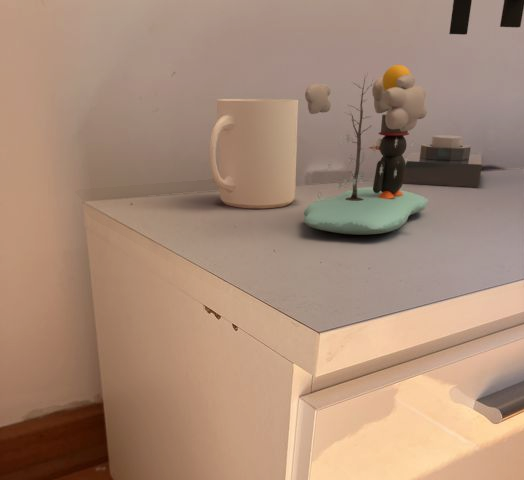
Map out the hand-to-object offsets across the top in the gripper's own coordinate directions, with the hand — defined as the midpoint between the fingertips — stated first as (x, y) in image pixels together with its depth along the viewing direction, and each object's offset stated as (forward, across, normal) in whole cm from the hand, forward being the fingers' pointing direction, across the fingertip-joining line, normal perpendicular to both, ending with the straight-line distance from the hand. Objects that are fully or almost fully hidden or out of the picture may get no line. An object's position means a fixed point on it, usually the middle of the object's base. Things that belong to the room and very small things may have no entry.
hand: (482, 31), depth 85 cm
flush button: (+16, +3, -5) cm, 17 cm away
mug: (+21, +18, -39) cm, 48 cm away
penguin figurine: (+21, +30, -29) cm, 46 cm away
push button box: (+21, +3, -5) cm, 22 cm away
